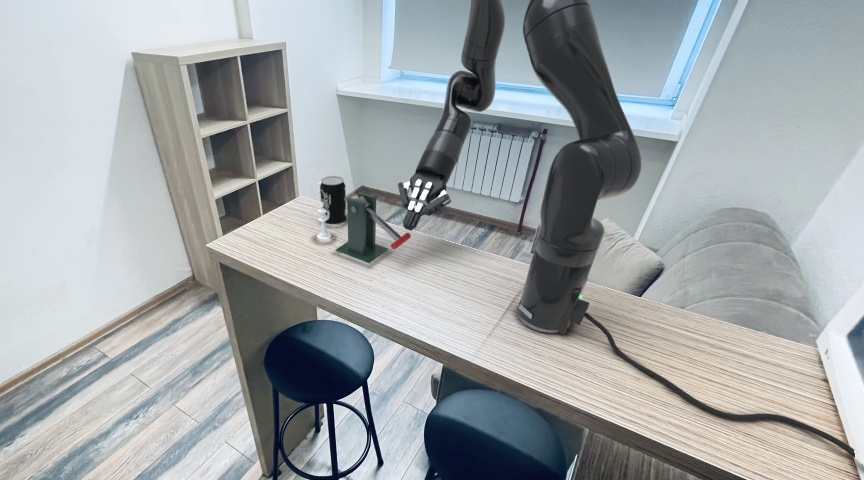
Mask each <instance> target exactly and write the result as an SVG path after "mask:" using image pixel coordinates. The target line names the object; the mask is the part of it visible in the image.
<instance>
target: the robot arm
mask: <svg viewBox="0 0 864 480" xmlns="http://www.w3.org/2000/svg"><path fill="white" fill-rule="evenodd" d="M505 25H506V14H505V9H504V5H503V1H502V0H470V5H469V13H468V19H467V26H466V30H465V35H464V40H463V44H462V49H461V55H460V61H461V62H460V63H461V65H462V66H463V67H464V68H465V69H466V70H467V71H466V70H457V71H456V72H453V74H452V75H451V76H450V78H448V81H447V84H446V91H445V98H444V103H443V104H444V105H443V109H442V113H441V115H440V118H439V120H438V123H437V125H436V127H435V129H434V131H433V133H432V135H431V137H430V138H429V140H428V142H427V144H426V146H425V149H424V151H423V152H422V155H421V157H420V159H419V162H418V164H417V166H416V168H415V172H414V174H413V175H412V176H411V177H410V178H409V180H408V181H406V182H404V183H403V182H402V181H400V182H398V183H397V187H398V192H399V195H400V200H401V204H402V207H404V208H405V210H407V211H406V214H405V216H404V218H403V220H402V226H403V228H404V229H405V230H407V231H410V232H412V231H413V230H415V229H416V228H417V226H418V224H419V222H420V220H421V218H422V217H423V216H427V217H430V216H431V215H433V214H435V213H437V212H438V211H440V210H442V209H443V208H445V207H446V206H447V205H450V204H451V202H452V199H451V197H450V195H449V193H447V184H448V183H449V180H450V179H451V176H452V173H453V172H454V169H455V168H456V167H455V166H456V165H457V163H458V162H459V158H460V155H461V153H462V150H463V147H464V144H465V142H466V140H467V138H468V136H469V133H470V131H471V129H472V126H473V121H472V118H471V116H470V115H469V114H468V113H466V112H465V111H463V110H462V109H466V110H470V111H473V112H477V113H482V112H484V111H486V110H488V109H489V108H490V107H491V105H492V103H493V102H494V98H495V97H496V96H495V95H496V87H497V85H496V63H497V58H498V53H499V50H500V47H501V44H502V39H503V37H504V32H505ZM522 35H523V40H524V43H525V47H526V50H527V54H528V57H529V62H530V64H531V68H532V70H533V72H534V75H535V76H536V78H537V79H538V81H539V82H540V83H541V84H542V86H544V88H545V89H546V90H547V91H548V92H549V93H550V95H552V96H553V98H554V99H555V100H556V101H557V102H558V103H559V104H560V105H561V106H562V107H563V108H564V109H565V111H566V113H567V115H569V117H570V119H571V121H572V123H573V125H574V128H575V131H576V134H577V137H578V139H577V140H572V141H570V142H568V143H566V144H564V145H563V146H561V148H560V149H559V150H558V151H557V152H556V154H555V156H554V157H553V159H552V161H551V164H550V167H549V171H548V174H547V178H546V181H545V182H546V183H545V186H544V187H545V188H544V192H543V196H542V201H541V205H540V211H539V212H540V215H539V216H540V229H539V233H538V237H537V240H536V244H535V247H534V251H533V254H532V258H531V261H530V264H529V268H528V272H527V275H526V278H525V282H524V285H523V289H522V293H521V296H520V300H519V303H518V306H517V309H516V315H517V318H518V319H519V321H520V322H521V323H522V324H524V325H525V326H526V327H528V328H529V329H532V330H534V331H537V332H540V333H544V334H559V335H562V336H564V335H565V334H566V333H567V330H568V329H569V327H570V325H571V323H572V324H575V325H578V326H581V324H582V322H583V320H584V318H585V319H587V320H588V321H589V322H591V323H592V324H593V325H594V326H596V327H597V328H598V329H599V330H600V331H601V332H602V333H603V334H604V335H605V337H606V338H607V340H608V343H609V345H610V347H611V349H612V351H614V352H615V353H616V354H617V355H618V356H619V357H620V358H621V359H622V360H624V361H625V362H627V363H628V364H630V365H631V366H633V367H634V368H636V369H638V370H639V371H641V372H643V373H645V374H647V375H648V376H650V377H652V378H653V379H656V380H657V381H659V382H660V383H662V384H663V385H665V386H667V387H668V388H670V389H671V390H672V391H674V392H675V393H677V394H678V395H679V396H681V397H682V398H684V399H685V400H687V401H688V402H690V403H692V404H693V405H695V406H696V407H698V408H700V409H702V410H704V411H705V412H709V413H711V414H713V415H716V416H717V417H718V416H719V417H722V418H725V419H729V420H735V421H758V420H774V421H779V422H784V423H786V424H789V425H792V426H795V427H797V428H800V429H802V430H805V431H807V432H810V433H812V434H814V435H816V436H819V437H821V438H823V439H825V440H826V441H829V442H831V443H833V444H834V445H836V446H837V447H839V448H841V449H842V450H843V451H845V452H847V454H849V455H850V456H851V457H853V458H854V459H855V453H854V450H855V448H853V447H852V446H851V445H849V444H847V443H845V441H843V440H840V439H839V438H837V437H835V436H833V435H831V434H829V433H827V432H825V431H823V430H821V429H819V428H816V427H813V426H812V425H809V424H808V423H804V422H801V421H799V420H796V419H794V418H791V417H788V416H786V415H785V416H784V415H780V414H775V413H747V414H737V413H730V412H726V411H723V410H721V409H720V410H719V409H717V408H714V407H712V406H710V405H707V404H705V403H704V402H702V401H700V400H698V399H697V398H695V397H693V396H692V395H690V394H689V393H687V392H686V391H685V390H683V389H682V388H680V387H679V386H677V385H675V384H674V383H673V382H672V381H670V380H668V379H666V378H665V377H664V376H662V375H660V374H658V373H656V372H655V371H653V370H651V369H650V368H647V367H645V366H644V365H642V364H640V363H638V362H637V361H635V360H633V359H632V358H630V357H628V355H627V354H625V353H624V352H623V351H622V350H621V349H620V348H619V347H618V346H617V345H616V343H615V340H614V337H613V335H612V333H610V331H609V330H608V329H607V328H606V327H605V326H604V325H603V324H602V323H601V322H599V321H598V320H597V319H595V318H594V317H593V316H592V315H590V314H589V313H588V312H587V311H588V309H589V306H590V304H591V303H590V302H589V301H586V300H584V299H583V300H582V298H583V293H584V290H585V288H586V285H587V283H588V279H589V274H590V271H591V269H592V266H593V264H594V262H595V259H596V256H597V254H598V251H599V248H600V246H601V243H602V241H603V238H604V236H605V231H606V230H605V227H604V225H603V223H602V222H601V221H599V220H598V219H597V218H595V217H594V213H595V210H596V207H597V203H598V201H600V200H604V199H609V198H613V197H617V196H621V195H623V194H626V193H627V192H629V191H630V190H631V189H633V188H634V186H635V185H636V184H637V182H638V180H639V178H640V176H641V172H642V154H641V150H640V147H639V144H638V142H637V138H636V136H635V135H634V133H633V130H632V128H631V125H630V123H629V121H628V119H627V116H626V115H625V112H624V110H623V107H622V105H621V103H620V100H619V98H618V95H617V92H616V89H615V87H614V84H613V83H614V82H613V81H612V77H611V73H610V70H609V68H608V64H607V61H606V58H605V56H604V55H605V54H604V52H603V48H602V45H601V41H600V36H599V31H598V27H597V24H596V21H595V18H594V13H593V10H592V7H591V3H590V1H589V0H528V2H527V6H526V9H525V13H524V17H523V23H522ZM460 108H462V109H460ZM410 190H411V191H410ZM410 192H411V196H410V197H409V193H410Z"/></svg>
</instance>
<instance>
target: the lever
mask: <svg viewBox="0 0 864 480" xmlns="http://www.w3.org/2000/svg"><path fill="white" fill-rule="evenodd" d="M355 199H356V200H360V201H363V202H366V214H367V215H368V216H369V217H371V218H372V219H373V220H374V221H375V222H376V225H378V226H379V227H380V228H381V229H382V230H384V231H385V232H386V233H387V234H388V235H389V236H390V237H391V238H392V239H393V240H394V241H393V242H391V243H390V248H391V249H392V250H397V249H398V248H399V247H401V246H402V245H403V244H405V243H406V242H407V241H408V240H410V239H411V237H412V236H411V235H412V234H411V233H410V232H405V233H403V234H402V235H400V234H399V233H398V232H397V231H396V230H394V229H393V228H392V227H391V226H390V225H389V224H388V223H387V222H386V221H385V220H384V219H382V217H380V215H378V214H377V212H376V213H375V212H374V211H372V210H371V209H370V208H369V207H370V205H371V203H370V202H369V201H368V200H366V199H365V198H364V197H363V196H361V197H359V198H358V197H357V198H355Z"/></svg>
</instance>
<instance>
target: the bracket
mask: <svg viewBox="0 0 864 480" xmlns="http://www.w3.org/2000/svg"><path fill="white" fill-rule="evenodd" d="M361 196H363V197H364V198H365V199H366V200H368V201H369V202H370V203H371V205H370V207H369V208H370V209H371V210H372V211H374V212H375V213H376V214H377V195H373V194H370V193H366V192H363V191H359V192H358V193H357V198H359V197H361ZM357 198H353V197H348V198H346V220H347V242H345V243H343V244H342V245H340V246H339V247H337V248H336V249H334V250H335V251H336V252H338V253H341V254H343V255H345V256H349V257H351V258H354V259H357V260H359V261H362V262H364V263H367V264H370V263H372V262H373V261H375V260H376V259H377V258H379V257H380V256H381V255H383V254H385V252H387V251H388V250H389V248H388V247H385V246H382V245H379V244H377V243H376V237H377V236H376V235H377V234H376V230H377V223H376V222H375V221H374V220H373V219H372V218H371V217H369V216H368V215H367V214H366V202H363V201H360V200H356V199H357Z"/></svg>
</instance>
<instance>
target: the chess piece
mask: <svg viewBox="0 0 864 480" xmlns="http://www.w3.org/2000/svg"><path fill="white" fill-rule="evenodd" d="M323 206H324V204H323V202H321V201H320V205H319V209H317V212H318V215H319V217H318V219H317V220H318V221H319V222H320V232H319V233H317V235H316V237H317V238H318V239H319V240H327V239H330V238H331V236H332V235H331V233H329V232H328V231H327V230H328V229H327V225H326V223H325V221H326V220H327V218H326V217H325V214H326V209H324V208H323Z"/></svg>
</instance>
